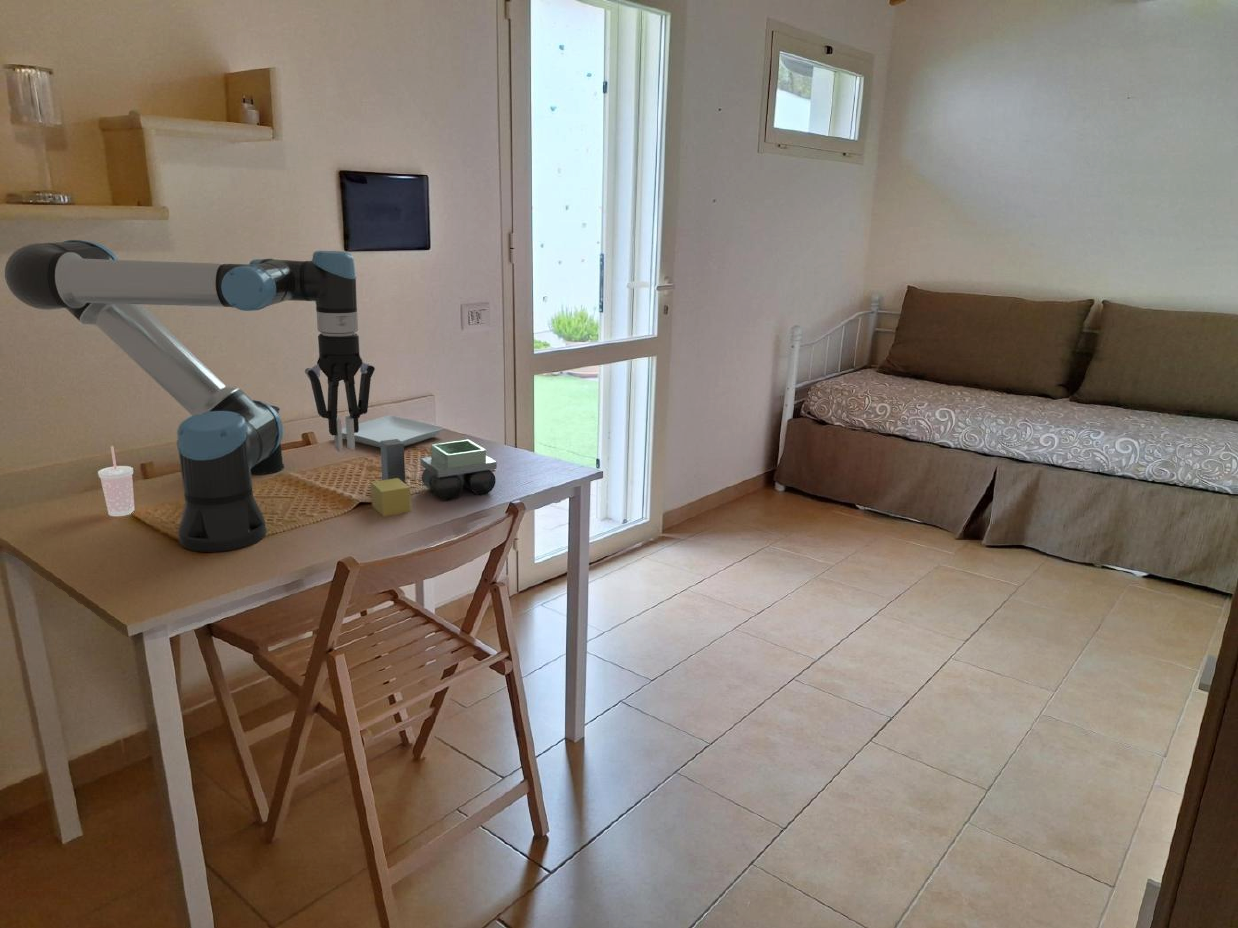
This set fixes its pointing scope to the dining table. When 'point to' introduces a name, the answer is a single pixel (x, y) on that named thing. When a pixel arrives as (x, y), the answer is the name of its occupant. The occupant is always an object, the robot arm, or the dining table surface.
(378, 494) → the block
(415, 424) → the salad plate
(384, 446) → the pin
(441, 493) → the box
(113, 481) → the beverage cup
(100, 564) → the dining table surface
